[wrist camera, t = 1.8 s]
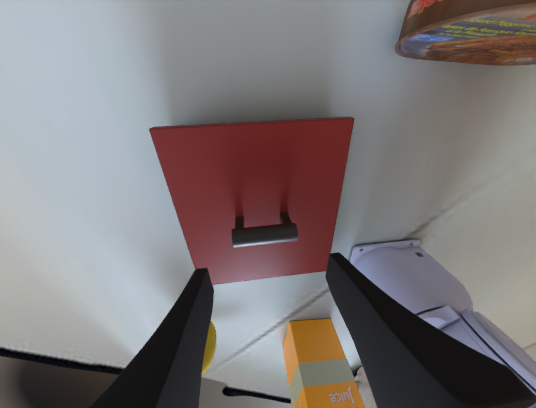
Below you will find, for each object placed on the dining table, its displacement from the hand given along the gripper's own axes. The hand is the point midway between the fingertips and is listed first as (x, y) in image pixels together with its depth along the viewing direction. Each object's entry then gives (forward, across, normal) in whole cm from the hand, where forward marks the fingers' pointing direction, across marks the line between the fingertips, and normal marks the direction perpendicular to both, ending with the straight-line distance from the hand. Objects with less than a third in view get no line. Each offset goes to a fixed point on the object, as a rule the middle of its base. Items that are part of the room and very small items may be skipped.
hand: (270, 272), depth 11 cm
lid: (+7, 0, 0) cm, 7 cm away
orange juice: (+10, -7, +30) cm, 32 cm away
